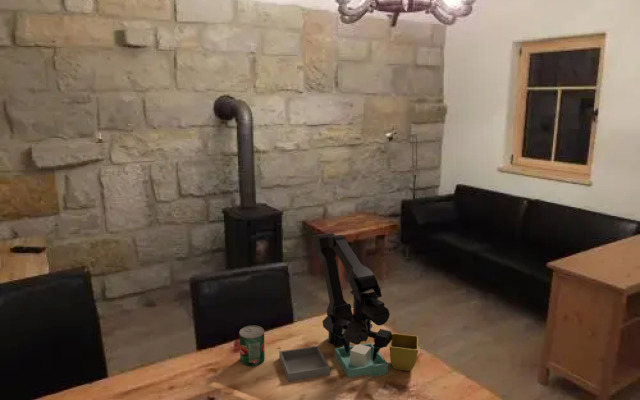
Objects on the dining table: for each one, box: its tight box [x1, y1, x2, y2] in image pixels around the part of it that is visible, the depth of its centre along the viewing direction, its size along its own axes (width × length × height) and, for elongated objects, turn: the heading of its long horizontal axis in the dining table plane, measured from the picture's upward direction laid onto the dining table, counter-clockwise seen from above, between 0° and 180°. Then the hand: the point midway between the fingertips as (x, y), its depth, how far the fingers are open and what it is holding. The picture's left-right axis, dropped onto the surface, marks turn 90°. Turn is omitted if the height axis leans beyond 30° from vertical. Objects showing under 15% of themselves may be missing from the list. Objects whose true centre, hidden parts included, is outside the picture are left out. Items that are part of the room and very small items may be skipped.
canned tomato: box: [239, 325, 266, 368], centre depth 151 cm, size 8×8×11 cm
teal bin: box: [334, 342, 389, 378], centre depth 150 cm, size 13×13×4 cm
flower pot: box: [389, 332, 419, 372], centre depth 150 cm, size 9×9×9 cm
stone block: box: [350, 343, 371, 367], centre depth 150 cm, size 5×5×5 cm
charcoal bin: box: [278, 345, 331, 382], centre depth 148 cm, size 13×13×4 cm
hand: (360, 356), depth 150 cm, fingers open, 9 cm apart
